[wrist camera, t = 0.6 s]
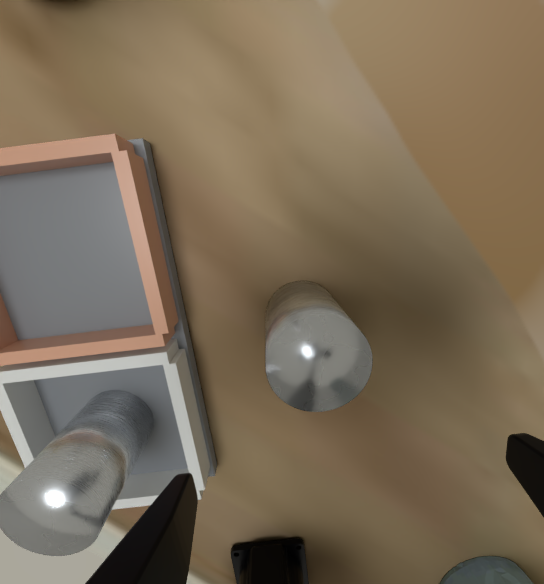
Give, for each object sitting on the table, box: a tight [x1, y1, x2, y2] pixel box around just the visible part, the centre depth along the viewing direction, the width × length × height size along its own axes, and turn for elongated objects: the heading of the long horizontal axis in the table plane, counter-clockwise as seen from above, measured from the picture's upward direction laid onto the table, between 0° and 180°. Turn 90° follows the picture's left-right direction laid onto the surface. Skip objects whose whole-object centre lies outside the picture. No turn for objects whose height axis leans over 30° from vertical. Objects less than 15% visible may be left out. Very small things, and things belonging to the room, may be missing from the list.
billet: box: [0, 390, 154, 556], centre depth 17 cm, size 5×5×7 cm
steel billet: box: [266, 281, 373, 412], centre depth 17 cm, size 5×5×7 cm
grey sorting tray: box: [0, 134, 217, 509], centre depth 19 cm, size 24×12×3 cm, turn 7°
